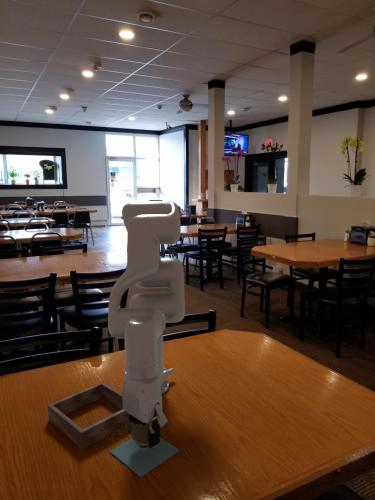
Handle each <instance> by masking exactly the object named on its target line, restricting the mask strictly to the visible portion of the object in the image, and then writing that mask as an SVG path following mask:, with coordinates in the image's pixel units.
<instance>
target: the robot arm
mask: <svg viewBox="0 0 375 500" xmlns="http://www.w3.org/2000/svg"><path fill="white" fill-rule="evenodd" d="M121 215H122V222H123V224H124V227H125V229H126V232H127V237H126V238H127V240H126V241H127V242H126V243H127V244H126V245H127V246H126V248H127V250H126V251H127V253H126V256H127V257H126V269H125V271H124V272H123V274H122V275H120V276H119V277H118V279H117V280H116V281H115V283H114V284H113V287H112V289H111V290H110V291H111V292H110V294H109V299H108V310H107V311H108V313H107V326H108V332H109V334H110V336H111V337H113V338H115V339H123V340H124V348H125V349H124V350H125V351H124V355H125V372H124V377H123V380H122V381H123V383H122V394H123V396H122V401H123V408H124V410H125V411H126V412H127V416H129V415H130V414H131V415H132V416H134V417H135V418H137V419H138V420H140V421H142V422H143V423H146V424H148V427H149V430H150V431H149V432H148V446H149V448H152V447H154V446H155V445H157V444H159V443H160V438H161V429H162V428H164V427H165V425H166V424H168V422H169V421H168V419H167V417H166V415H165V413H164V412H163V394H164V393H166V392H167V391H168V390H169V388H170V383H169V380H168V377H169V376H171V375H174V374H175V369H174V368H173V367H172V368H171V367H170V368H169V369H167V367H164V365H165V364H164V335H163V332H164V331H165V328H166V324H167V323H169V324H170V323H178V322H181V321H183V320H184V318H185V316H186V315H185V313H186V304H185V303H186V300H185V298H186V297H185V275H184V274H185V272H184V266H183V263H182V261H181V260H180V259H179V258H176V257H161V255H160V253H161V252H160V251H161V250H160V245H175V244H177V243H178V242H179V241H180V238H181V231H182V229H181V228H182V227H181V214H180V208H179V206H178V204H177V203H176V202H174V201H133V202H128V203H126V204H124V206H122V209H121ZM134 285H135V286H136V287H137V288H139V289H169V290H170V291H168V292H167V291H166V292H164V291H163V292H157V291H156V292H152V291H151V292H140V293H139V292H138V293H137V294H134V295H132V296H131V298H130V299H129V302H128V307H127V308H126V307H125V308H124V307H123V308H121V300H122V296H123V295H124V293H125V292H126V291H127V290H128V289H130V287H132V286H134ZM127 418H128V417H127ZM155 419H156V425H155V426H153V424H152V421H153V420H155ZM127 426H128V434H129V435H131V433H130V429H129V423H128V425H127Z"/></svg>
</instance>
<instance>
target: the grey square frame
mask: <svg viewBox="0 0 375 500" xmlns="http://www.w3.org/2000/svg"><path fill="white" fill-rule="evenodd" d="M122 396H123V392H121V391H118V390H117V389H115V388H114V387H112V386H110V385H109V384H107V383H105V382H103V381H102V382H99V383H96V384H95V385H92V386H90V387H87V388H85V389H83V390H80V391H79V392H78V391H77V392H76V393H73V394H71V395H68V396H66V397H64V398H61V399H60V400H57V401H55V402H52V403H50V404H48V405H47V414H48V415H47V416H48V421H49V422H50V423H51V424H53V426H55V427H56V428H57V429H58V430H60V431H61V433H63V434H64V435H65V436H66V437H68V438H69V440H71V441H72V442H73V443H74V444H76V445H77V446H78V447H79V448H80V449H81V450H85V449H86V448H87V447H89V446H91V445H93V444H96V443H97V442H98V441H100V440H103V439H104V438H105V437H108V436H110V435H111V434H114V433H115V432H117V431H119V430H121V429H122V428H124V427H127V426H128V418H127V412H126V411H125V410H124V408H123V401H122ZM101 399H104V400H105V401H106V402H109V403H110V404H111V405H113V406H114V407H115V408H118V409H119V411H117V412H115V413H112V414H110V415H108V416H107V417H105V418H102V419H101V420H99V421H97V422H95V423H93V424H90V425H89V426H87V427H85V428H82V427H81V426H80V425H78V424H77V423H76V422H74V421H73V420H72V419H71V418H70V417H68V416H66V415H68V414H70V413H72V412H74V411H77V410H79V409H82V408H84V407H86V406H87V405H90V404H92V403H94V402H96V401H98V400H101Z"/></svg>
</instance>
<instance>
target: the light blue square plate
mask: <svg viewBox="0 0 375 500" xmlns="http://www.w3.org/2000/svg"><path fill="white" fill-rule="evenodd" d="M179 452H180V449H179V448H177V447H176V446H174V445H172V444H171V443H169V442H168V441H166V440H165V439H164V438H163V437H160V443H159V444H157V445H155V446H154V447H152V448H149V446H148V447H146V448H141V447H139V446H138V445H137V443H136V441H135V440H134V439H133V438H132V437H131V438H130V439H129V440H127V441H124V442H123V443H121V444H120V445H118V446H116V447H115V448H113V449H112V450H110V451H109V453H110V454H111V455H112V456H114V457H115V458H116V459H117V460H118V461H120V462H121V463H122V464H124V466H126V467H127V468H129V470H131V471H132V472H134V473H135V474H136V475H137V476H139V477H140V478H143V477H144V476H145V475H147V474H148V473H149V472H151V471H153V470H155V468H158V466H160V465H161V464H163V463H164V462H166V461H167V460H168V459H170V458H172V457H173V456H174V455H176V454H177V453H179Z"/></svg>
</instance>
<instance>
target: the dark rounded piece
mask: <svg viewBox="0 0 375 500" xmlns="http://www.w3.org/2000/svg"><path fill="white" fill-rule="evenodd" d="M127 417H128V423H129V427H128V430H129V429H130V433H131V434H130V436H131V439H132V438H133V439H134V440H135V441H136V443H137V445H138V446H139V447H141V448H146V447H148V432H149V431H150V430H149V427H148V424H146V423H143V422H142V421H140V420H138V419H137V418H135V417H134V416H132V415H131V414H130V415H129V416H127ZM152 424H153V426H155V425H156V419H155V420H153V421H152Z"/></svg>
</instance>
